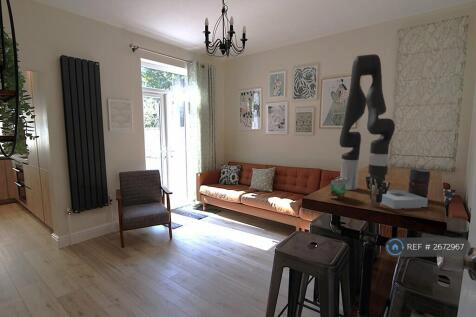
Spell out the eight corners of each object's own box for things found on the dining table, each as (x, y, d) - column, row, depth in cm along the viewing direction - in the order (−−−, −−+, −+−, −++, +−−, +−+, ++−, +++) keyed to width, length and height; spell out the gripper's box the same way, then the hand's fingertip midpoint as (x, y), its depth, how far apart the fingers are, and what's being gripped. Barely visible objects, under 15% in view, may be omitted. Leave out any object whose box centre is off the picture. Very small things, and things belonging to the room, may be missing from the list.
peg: (369, 205, 114) (370, 184, 113) (376, 205, 114) (377, 184, 113) (374, 208, 111) (375, 186, 109) (381, 207, 111) (383, 186, 110)
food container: (342, 201, 120) (343, 181, 118) (330, 199, 123) (330, 180, 122) (349, 196, 129) (350, 177, 128) (337, 194, 133) (337, 176, 132)
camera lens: (419, 202, 118) (421, 171, 116) (403, 197, 126) (406, 168, 124) (431, 200, 120) (434, 170, 118) (415, 196, 128) (418, 168, 126)
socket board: (371, 198, 125) (371, 190, 124) (400, 197, 127) (400, 189, 126) (393, 208, 109) (394, 200, 109) (427, 207, 111) (427, 198, 110)
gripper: (360, 161, 117) (358, 196, 119) (381, 166, 103) (378, 206, 105) (375, 161, 117) (373, 196, 120) (397, 166, 103) (394, 205, 106)
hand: (375, 200), depth 112 cm, fingers closed on peg, 3 cm apart
